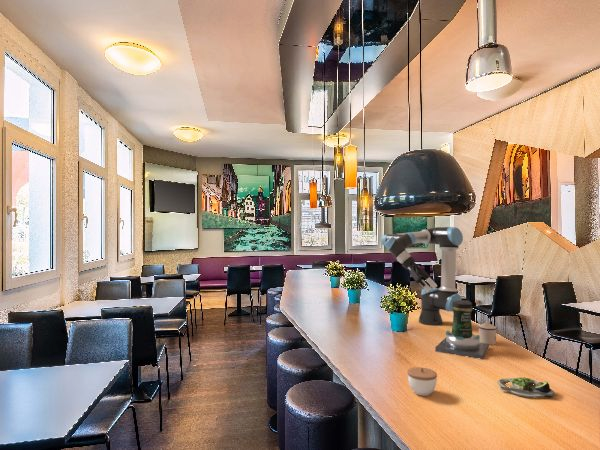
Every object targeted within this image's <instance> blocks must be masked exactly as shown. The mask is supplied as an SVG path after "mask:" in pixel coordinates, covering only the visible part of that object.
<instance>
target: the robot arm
mask: <svg viewBox="0 0 600 450" xmlns="http://www.w3.org/2000/svg"><path fill="white" fill-rule="evenodd" d="M462 233H463V232H462V231H461V230H460V229H459V228H458V227H455V226H445V227H444V226H443V227H442V226H437V227H432V228H426V229H425V228H424V229H421V230H420V231H411V232H410V231H409V232H402V233H393V234H392V233H391V234H389V233H388V234H383V235H382V236H381V238H380V241H381V244H382V246H384V247H385V248H386V250H387V251H388V252H389V253H390V254H391V255H392V256H393V257H394V258H395V259H396V261H397V262H399V263H400V264H401V266H402V267H403V268H404V269H405V270H407V271H408V272H409V274H410V275H411V276H412V278H413V279H414V281H415V282H416V284H419V285H420V286H421V287H422V290H421V295H420V297H421V303H420V304H421V306H420V307H421V311H420V314H419V316H418V322H419V324H423V325H428V326H440V325H443V319H442V318H443V317H442V314H441V311H440V310H442V311H446V312H453V309H452V304H453V301H454V300H462V297H461V295H460V294H459V293H458V292H459V291H458V289H457V288H456V269H457V268H456V262H457V261H456V259H457V250H458V249H460V248H459V246H460V245H462V243H463V240H464V239H463V238H464V236H463V234H462ZM414 244H415V245H416V244H423V245H424V244H425V245H426V244H428V245H429V244H431V245H438V247H439V249H440V250H441V263H440V264H441V266H440V267H441V270H440V271H441V272H440V273H441V275H440V287H438V285H437V283H436V282H435V281H434V280H433V279H432V278H431V274H429V273H427V272H426V270H424V269H423V268H421V267H420V266H419V264H415V263H416V259H415V258H414V257H413V256H411V254H410V252H409V251H407V249H408V248H410V247H412V246H413V245H414ZM421 277H422V278H424V279H425V280H424V279H422V278H421ZM426 282H427V283H426ZM428 284H429V285H428ZM430 286H431V287H430ZM437 287H438V288H437Z"/></svg>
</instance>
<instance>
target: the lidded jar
mask: <svg viewBox="0 0 600 450" xmlns="http://www.w3.org/2000/svg"><path fill="white" fill-rule="evenodd" d="M437 379H438V374H437V371H435V370H434V369H431V368H427V367H421V366H418V367H416V366H414V367H410V368H408V369H407V380H408V381H407V382H408V385H409V387H410V389H411V390H412V391H413V393H414V392H415V393H416V395H417V394H418V396H421V397H422V396H424V397H426V396H428V397H429V396H430V395H431V394H432V393H433V392H434V391H435V389H436V388H437V387H436V386H437ZM415 393H414V394H415Z"/></svg>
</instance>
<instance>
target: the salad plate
mask: <svg viewBox="0 0 600 450" xmlns="http://www.w3.org/2000/svg"><path fill="white" fill-rule="evenodd" d="M508 382H510V384H509V385H510V388H509V386H508V385H507V386H508V387H507V386H506V385H505V384H506V383H508ZM497 384H498V385H499V386H500V387H499V388H500V390H502V391H506V392H508V393H509V394H512V393H513V395H516V396H519V395H520V396H519V397H523V396H524V398H527V397H531V398H530V399H533V398H534V397H549V398H552V397H557V394H555V391H554V390H553V389H552V388H550V383H549V382H548V381H538V380H536V379H532V378H528V377H522V376H521V377H520V376H519V377H511V378H507V377H506V378H499V380H498V381H497ZM533 384H534V385H533ZM534 399H535V398H534Z"/></svg>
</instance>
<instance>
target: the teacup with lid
mask: <svg viewBox="0 0 600 450" xmlns="http://www.w3.org/2000/svg"><path fill="white" fill-rule="evenodd" d="M477 327H478V335H480V343H485V344H489V346H494V345H493V344H495V345H496V344H497V326H495V325H493V324H491V323H490V321H484V322H483V323H481V324H478V326H477Z"/></svg>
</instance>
